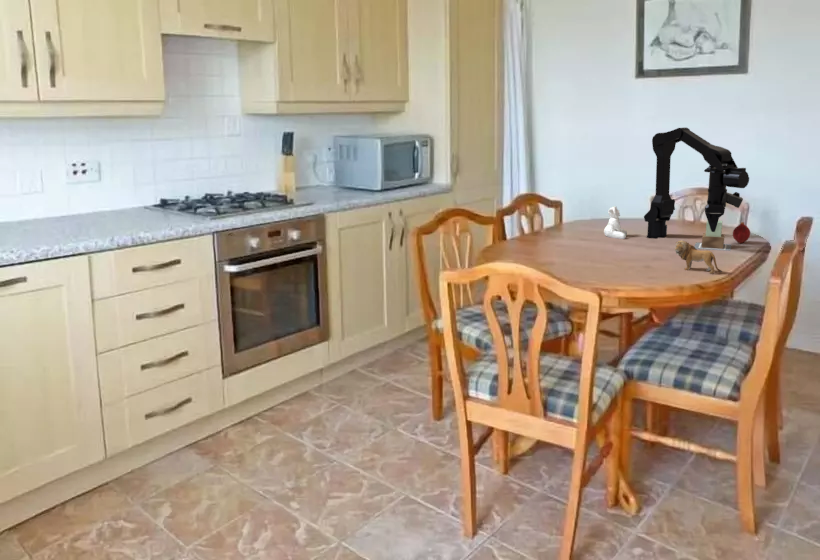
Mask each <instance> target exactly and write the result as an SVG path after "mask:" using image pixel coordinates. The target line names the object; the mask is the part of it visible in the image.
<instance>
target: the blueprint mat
mask: <svg viewBox="0 0 820 560" xmlns="http://www.w3.org/2000/svg"><path fill="white" fill-rule="evenodd" d="M693 246H694V247H695V248H696V249H697V250H708V251H710V250H711V251H723V252H724V251H726V252H727V251H728V252H731V251H732V244H731V243H724V246H723V249H716V248H702V242H695V244H694V245H693Z"/></svg>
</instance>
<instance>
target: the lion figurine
mask: <svg viewBox="0 0 820 560" xmlns="http://www.w3.org/2000/svg"><path fill="white" fill-rule="evenodd" d="M694 246H695V245H693V244H690V243H689V242H687V241H685V240H678V241H676V242H675V248H674V251H675V254H676V255H677V256H679V257H680V259H681V260H683V261H685V264H686V267H684V271H689V270H690V269H691V268H692V264H693V262H697V263H700V262H704V263H705V265H706V266H707V268H705V271H706V272H709V274H710V275H711V274H714V273H715V269H716V270H717V272H719V273H722V272H723V270H722V269H719V267H718V265H717V260H716V257H715V254H714V253H713V252H712V250H711V251H710V250H707V249H705V250H700V249H696V248H695V247H694ZM712 262H713V263H714V265H713V264H712Z"/></svg>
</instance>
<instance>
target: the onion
mask: <svg viewBox="0 0 820 560" xmlns="http://www.w3.org/2000/svg"><path fill="white" fill-rule="evenodd" d="M750 236H751V230H750V228H749V227H748V226H747V225H746V224H745V222H744V221H742V222H740V224H739V225H737V226H736V227H734V229H733V231H732V238H733V239H734V240H735V242H737V243H738V244H743V243H746V242H747V241H748V240H749V238H750Z"/></svg>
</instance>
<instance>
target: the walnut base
mask: <svg viewBox="0 0 820 560" xmlns="http://www.w3.org/2000/svg"><path fill="white" fill-rule="evenodd" d="M701 243H702V248H716V249H723V246H724V244H725V233H724V234H723V233H721V237H710V236H706V232H704V233H703V234H702V239H701Z"/></svg>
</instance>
